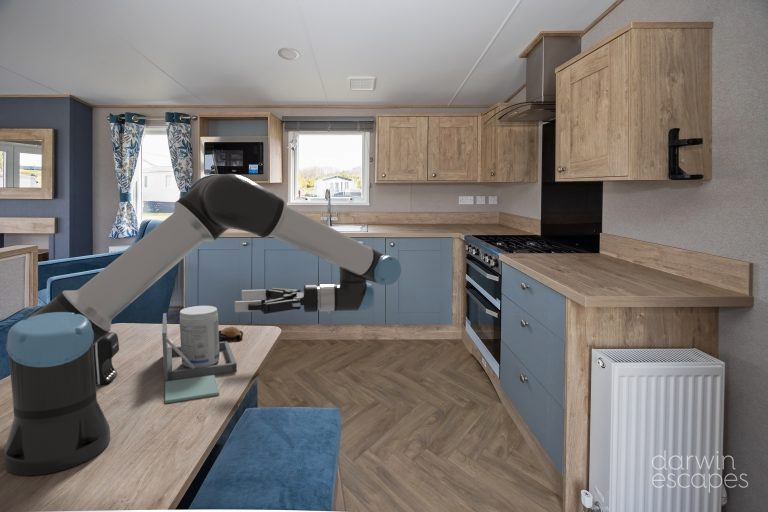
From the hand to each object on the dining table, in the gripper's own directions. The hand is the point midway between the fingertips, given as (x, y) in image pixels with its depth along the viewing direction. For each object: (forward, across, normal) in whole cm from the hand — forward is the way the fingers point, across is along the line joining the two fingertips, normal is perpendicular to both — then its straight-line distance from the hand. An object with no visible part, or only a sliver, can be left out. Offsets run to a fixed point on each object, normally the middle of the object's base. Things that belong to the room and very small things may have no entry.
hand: (238, 300), depth 122 cm
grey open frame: (+10, 0, -17) cm, 20 cm away
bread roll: (+6, +22, -18) cm, 29 cm away
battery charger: (+29, -10, -17) cm, 35 cm away
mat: (+9, -18, -17) cm, 26 cm away
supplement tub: (+10, 0, -17) cm, 20 cm away
